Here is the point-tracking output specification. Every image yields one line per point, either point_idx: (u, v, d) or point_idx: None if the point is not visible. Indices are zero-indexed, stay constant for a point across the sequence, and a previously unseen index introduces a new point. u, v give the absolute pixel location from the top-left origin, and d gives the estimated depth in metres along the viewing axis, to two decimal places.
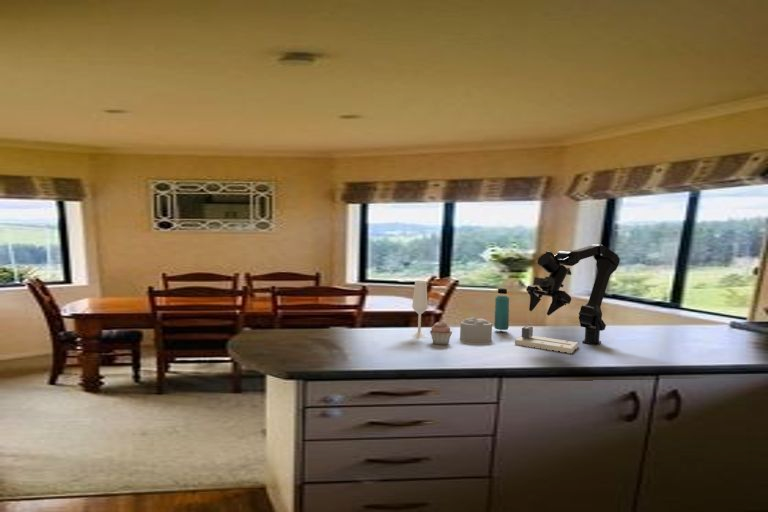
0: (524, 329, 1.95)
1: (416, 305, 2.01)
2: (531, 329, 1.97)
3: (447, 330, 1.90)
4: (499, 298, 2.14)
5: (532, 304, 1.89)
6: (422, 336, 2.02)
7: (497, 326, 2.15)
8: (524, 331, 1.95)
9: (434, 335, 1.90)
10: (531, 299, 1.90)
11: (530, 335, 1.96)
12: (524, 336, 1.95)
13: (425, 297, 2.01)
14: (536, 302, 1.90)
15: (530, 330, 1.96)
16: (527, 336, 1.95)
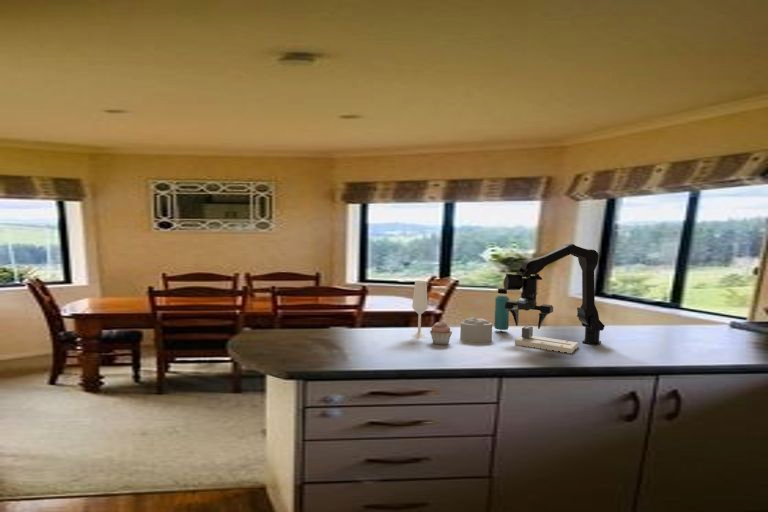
0: (524, 329, 1.95)
1: (416, 305, 2.01)
2: (531, 329, 1.97)
3: (447, 330, 1.90)
4: (499, 298, 2.14)
5: (516, 319, 1.99)
6: (422, 336, 2.02)
7: (497, 326, 2.15)
8: (524, 331, 1.95)
9: (434, 335, 1.90)
10: (514, 315, 1.99)
11: (530, 335, 1.96)
12: (524, 336, 1.95)
13: (425, 297, 2.01)
14: (517, 314, 2.00)
15: (530, 330, 1.96)
16: (527, 336, 1.95)
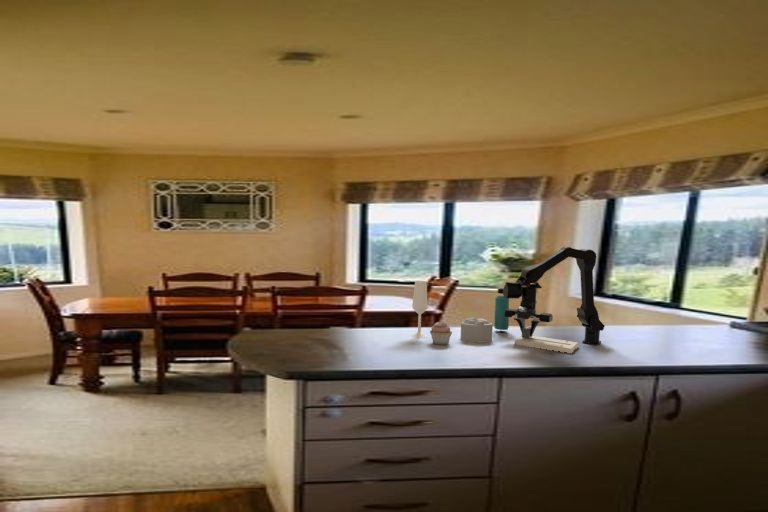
0: (524, 329, 1.95)
1: (416, 305, 2.01)
2: None
3: (447, 330, 1.90)
4: (499, 298, 2.14)
5: None
6: (422, 336, 2.02)
7: (497, 326, 2.15)
8: (524, 331, 1.95)
9: (434, 335, 1.90)
10: (520, 325, 1.97)
11: None
12: (524, 336, 1.95)
13: (425, 297, 2.01)
14: (524, 323, 1.99)
15: (530, 330, 1.96)
16: (527, 336, 1.95)
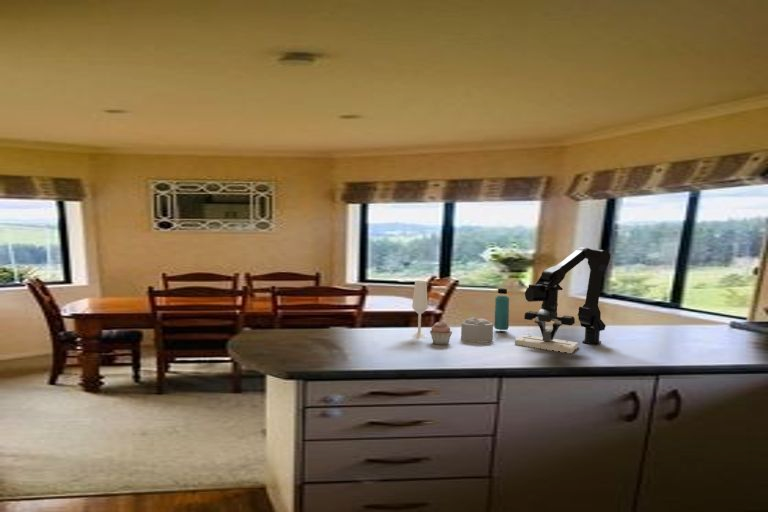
0: (545, 332, 1.90)
1: (416, 305, 2.01)
2: None
3: (447, 330, 1.90)
4: (499, 298, 2.14)
5: None
6: (422, 336, 2.02)
7: (497, 326, 2.15)
8: (545, 334, 1.90)
9: (434, 335, 1.90)
10: (541, 327, 1.92)
11: (551, 338, 1.91)
12: (545, 339, 1.91)
13: (425, 297, 2.01)
14: (544, 326, 1.94)
15: (551, 333, 1.91)
16: (548, 339, 1.90)
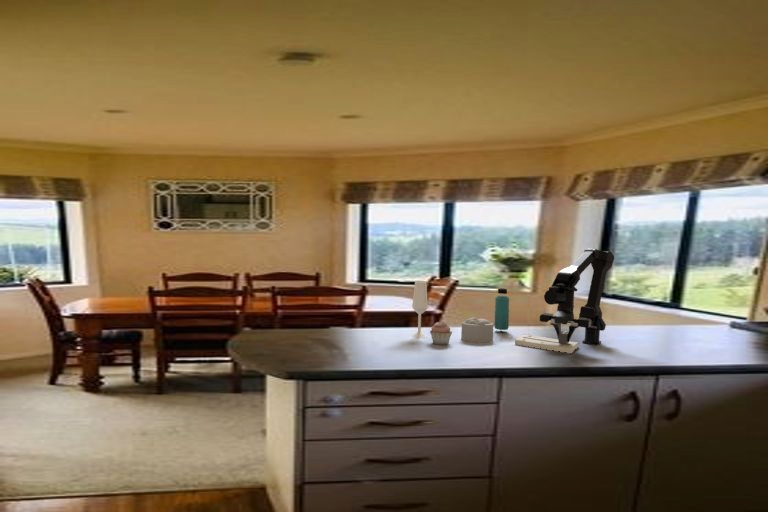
0: (561, 334, 1.87)
1: (416, 305, 2.01)
2: None
3: (447, 330, 1.90)
4: (499, 298, 2.14)
5: None
6: (422, 336, 2.02)
7: (497, 326, 2.15)
8: (561, 336, 1.87)
9: (434, 335, 1.90)
10: (557, 330, 1.89)
11: (567, 341, 1.88)
12: (561, 342, 1.87)
13: (425, 297, 2.01)
14: (560, 329, 1.91)
15: (567, 335, 1.87)
16: (564, 342, 1.86)
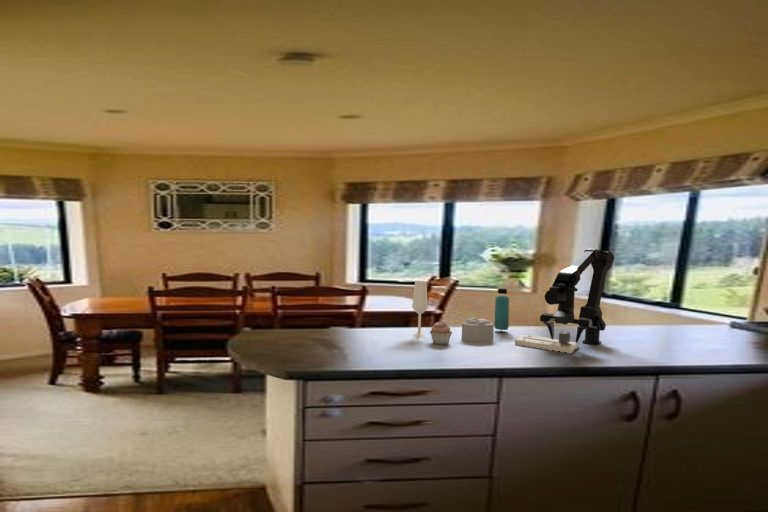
0: (561, 334, 1.87)
1: (416, 305, 2.01)
2: (568, 334, 1.88)
3: (447, 330, 1.90)
4: (499, 298, 2.14)
5: (552, 333, 1.91)
6: (422, 336, 2.02)
7: (497, 326, 2.15)
8: (561, 337, 1.87)
9: (434, 335, 1.90)
10: (550, 329, 1.90)
11: (568, 341, 1.88)
12: (561, 342, 1.87)
13: (425, 297, 2.01)
14: (553, 328, 1.92)
15: (568, 335, 1.87)
16: (565, 342, 1.86)
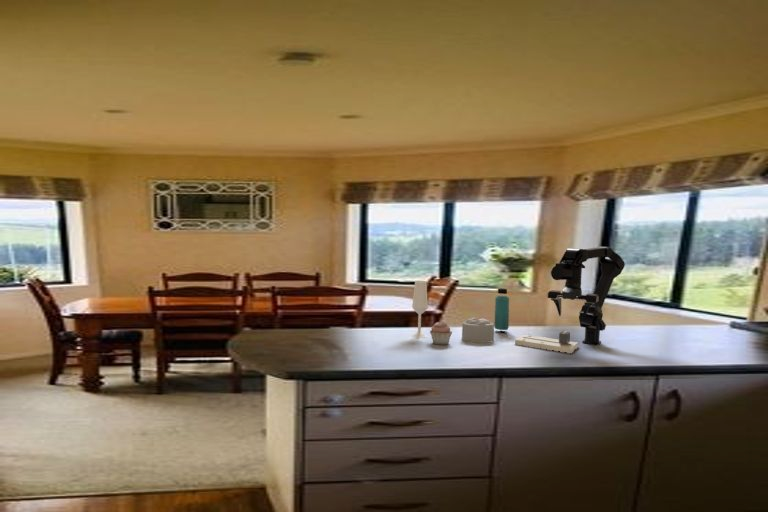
0: (561, 334, 1.87)
1: (416, 305, 2.01)
2: (568, 334, 1.88)
3: (447, 330, 1.90)
4: (499, 298, 2.14)
5: (560, 309, 1.95)
6: (422, 336, 2.02)
7: (497, 326, 2.15)
8: (561, 337, 1.87)
9: (434, 335, 1.90)
10: (557, 305, 1.94)
11: (568, 341, 1.88)
12: (561, 342, 1.87)
13: (425, 297, 2.01)
14: (560, 304, 1.96)
15: (568, 335, 1.87)
16: (565, 342, 1.86)
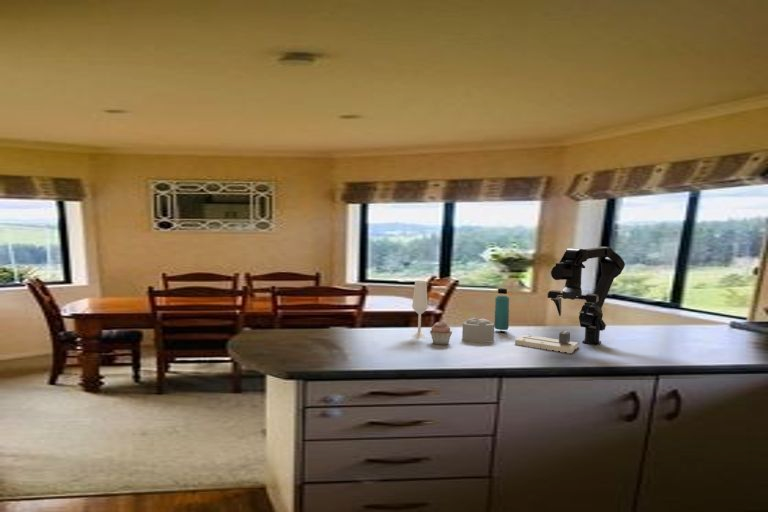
0: (561, 334, 1.87)
1: (416, 305, 2.01)
2: (568, 334, 1.88)
3: (447, 330, 1.90)
4: (499, 298, 2.14)
5: (560, 309, 1.95)
6: (422, 336, 2.02)
7: (497, 326, 2.15)
8: (561, 337, 1.87)
9: (434, 335, 1.90)
10: (557, 305, 1.94)
11: (568, 341, 1.88)
12: (561, 342, 1.87)
13: (425, 297, 2.01)
14: (560, 304, 1.96)
15: (568, 335, 1.87)
16: (565, 342, 1.86)
